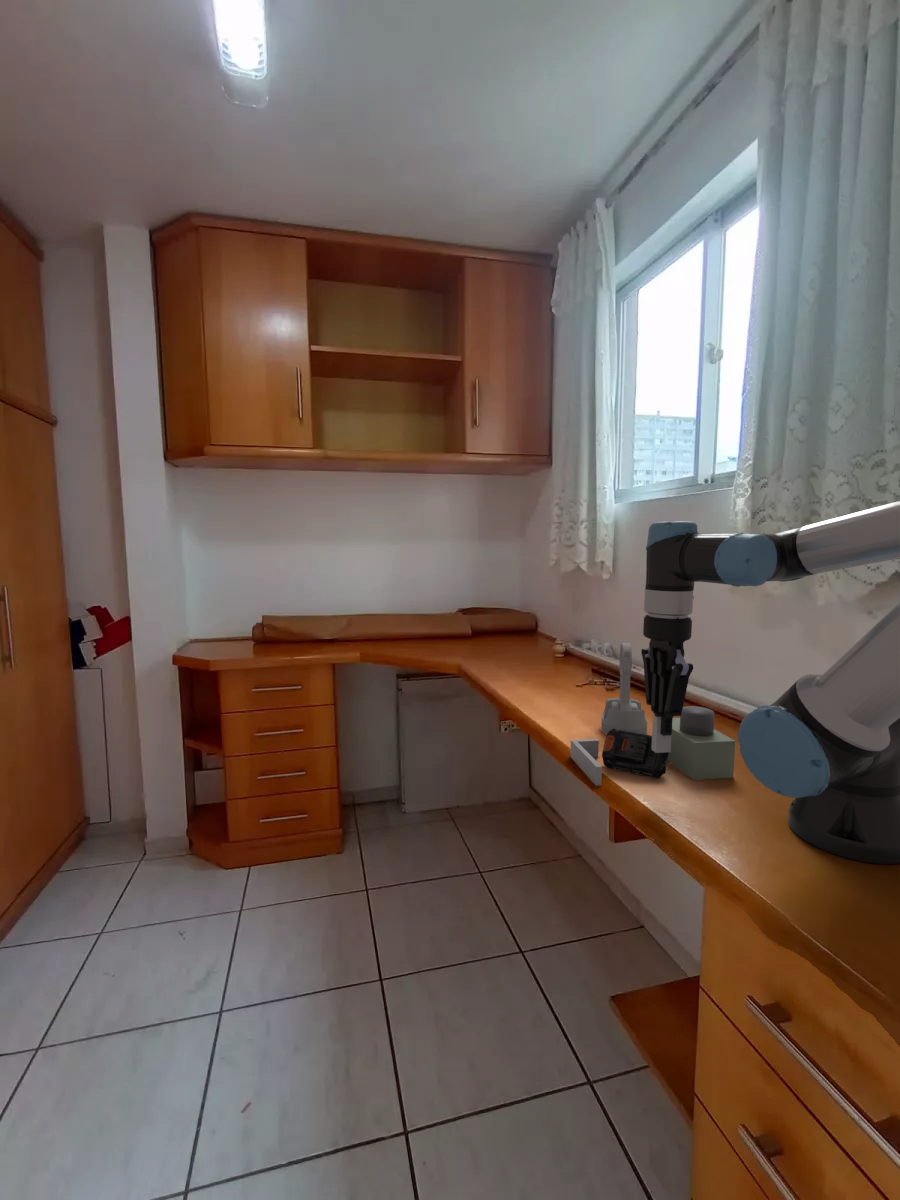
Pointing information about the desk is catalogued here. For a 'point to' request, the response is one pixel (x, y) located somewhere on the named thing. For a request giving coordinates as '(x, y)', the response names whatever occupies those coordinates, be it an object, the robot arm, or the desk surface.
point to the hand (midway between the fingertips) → (660, 750)
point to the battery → (633, 754)
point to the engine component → (624, 701)
